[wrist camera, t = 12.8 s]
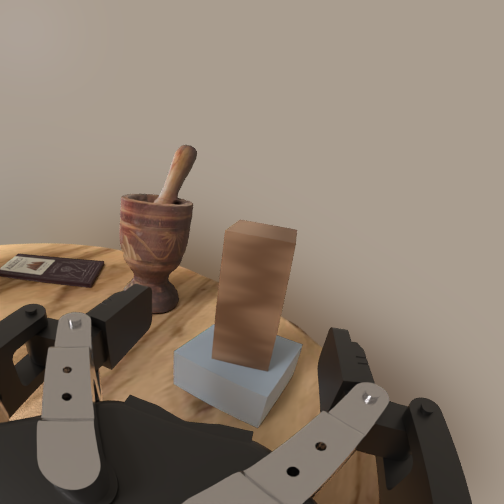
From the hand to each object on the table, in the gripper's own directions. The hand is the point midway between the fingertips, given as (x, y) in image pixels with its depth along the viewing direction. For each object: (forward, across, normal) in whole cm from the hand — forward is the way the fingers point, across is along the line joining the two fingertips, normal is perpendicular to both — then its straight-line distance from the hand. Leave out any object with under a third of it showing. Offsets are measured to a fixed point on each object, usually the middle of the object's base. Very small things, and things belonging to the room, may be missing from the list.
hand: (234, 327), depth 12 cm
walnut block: (+9, 0, +7) cm, 11 cm away
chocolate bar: (+18, +33, +12) cm, 39 cm away
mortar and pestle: (+20, +14, +11) cm, 27 cm away
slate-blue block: (+9, 0, +11) cm, 14 cm away
